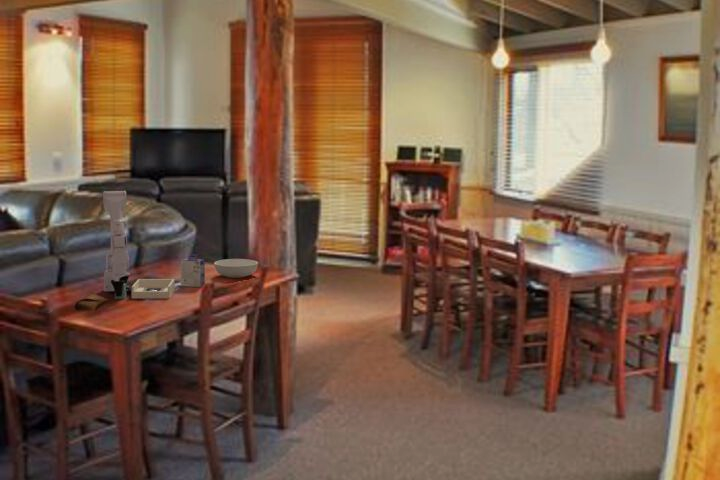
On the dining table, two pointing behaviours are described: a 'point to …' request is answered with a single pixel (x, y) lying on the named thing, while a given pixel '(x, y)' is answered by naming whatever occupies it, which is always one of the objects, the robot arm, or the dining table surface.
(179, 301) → the dining table surface
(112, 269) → the robot arm
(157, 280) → the walled box
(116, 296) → the block
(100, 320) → the dining table surface
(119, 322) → the dining table surface
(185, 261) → the ink cartridge box
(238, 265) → the serving bowl
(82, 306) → the sunglasses case
